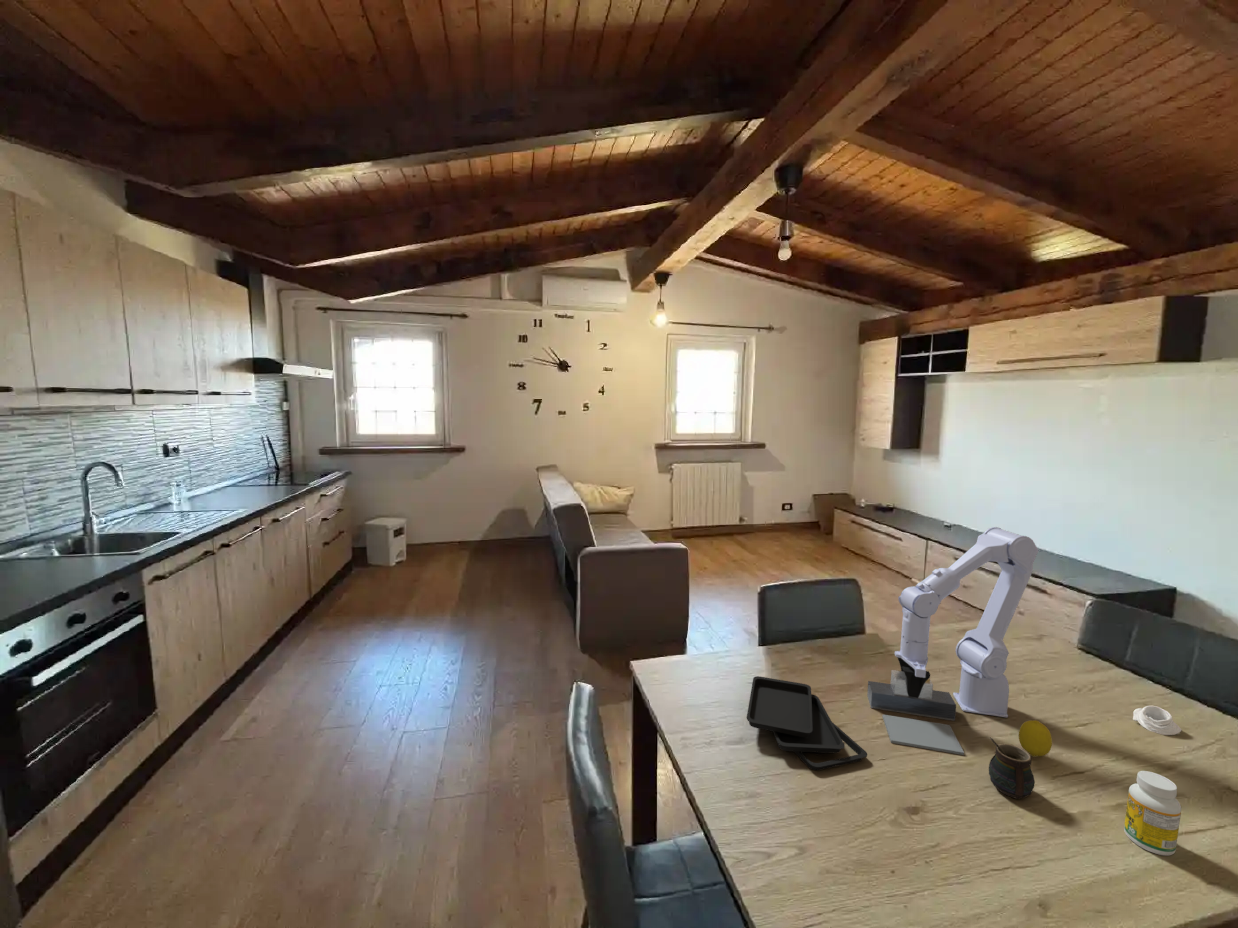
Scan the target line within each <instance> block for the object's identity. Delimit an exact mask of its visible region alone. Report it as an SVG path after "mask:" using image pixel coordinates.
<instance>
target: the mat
mask: <svg viewBox="0 0 1238 928" xmlns="http://www.w3.org/2000/svg"><path fill="white" fill-rule="evenodd" d="M882 720H883V722H884V726H885V729H886V732H887V734H888V735H887V736H888V737H889V740H890V743H891V744H896V745H900V746H901V745H902V746H907V747H908V746H909V747H913V748H920V749H926V750H930V751H937V752H944V753H948V754H955V755H959V756H965V752H964V749H963V747H962V746H961V743H960V742H959V740H958V738H957V737H956V734H955V732H954V731H953V729H952V727H951V725H950V724H945V723H939V722H932V721H926V720H919V719H915V718H914V719H913V718H908V717H901V716H895V715H890V714H889V715H888V714H882Z"/></svg>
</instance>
